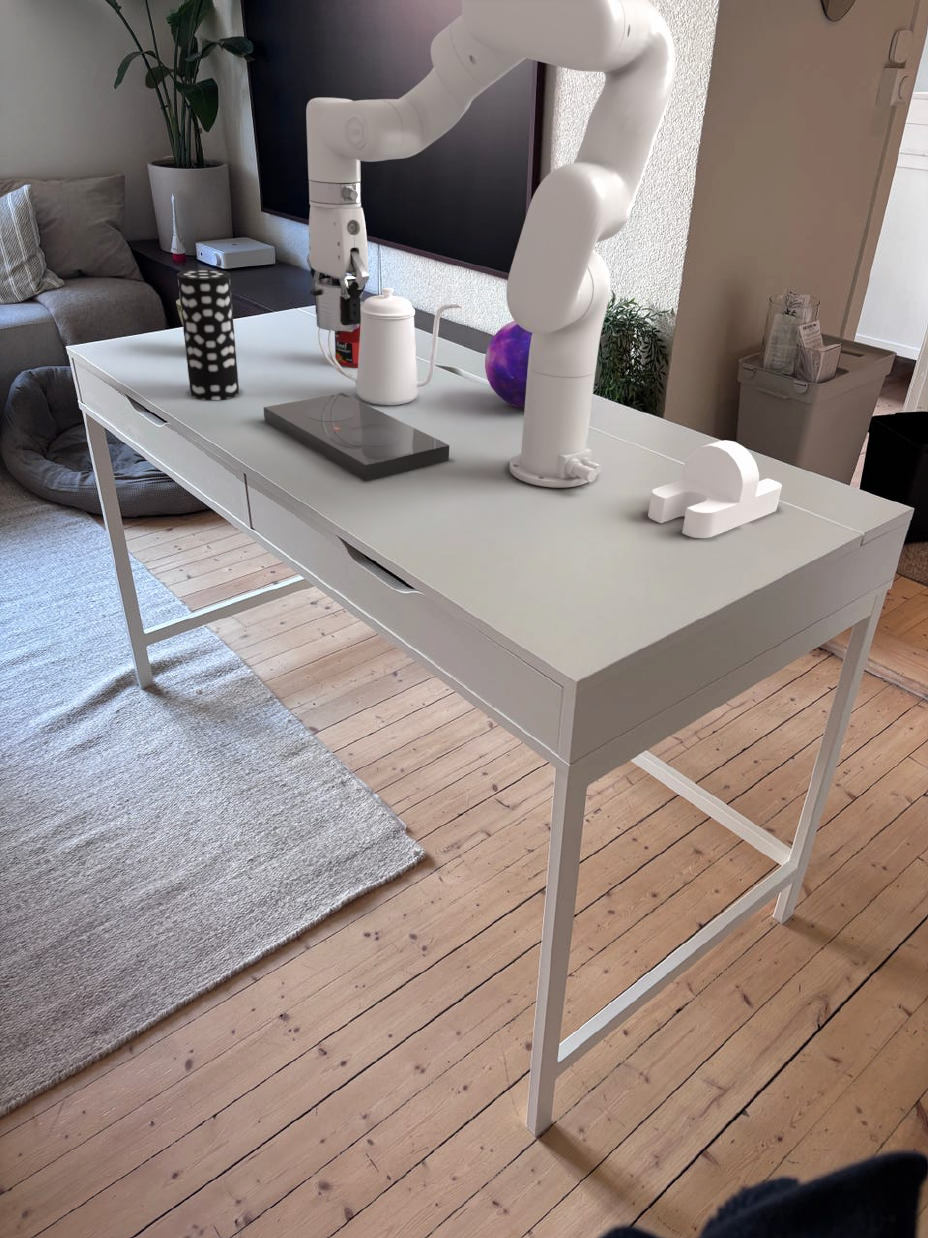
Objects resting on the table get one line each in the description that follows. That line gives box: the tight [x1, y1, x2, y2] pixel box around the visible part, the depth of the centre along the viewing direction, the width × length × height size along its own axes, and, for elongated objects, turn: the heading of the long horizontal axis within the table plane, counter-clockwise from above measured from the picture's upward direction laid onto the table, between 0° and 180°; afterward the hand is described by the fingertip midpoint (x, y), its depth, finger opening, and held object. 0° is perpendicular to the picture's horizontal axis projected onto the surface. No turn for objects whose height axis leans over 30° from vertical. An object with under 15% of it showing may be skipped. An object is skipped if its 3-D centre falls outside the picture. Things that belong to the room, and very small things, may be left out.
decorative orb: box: [484, 320, 532, 408], centre depth 162 cm, size 15×15×15 cm
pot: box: [309, 277, 359, 332], centre depth 144 cm, size 7×9×7 cm
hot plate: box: [263, 392, 450, 482], centre depth 146 cm, size 30×15×2 cm, turn 39°
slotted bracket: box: [647, 439, 783, 539], centre depth 126 cm, size 18×10×10 cm, turn 130°
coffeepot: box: [317, 286, 465, 406], centre depth 162 cm, size 11×25×19 cm, turn 84°
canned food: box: [334, 300, 364, 368], centre depth 182 cm, size 8×8×11 cm
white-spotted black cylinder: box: [177, 268, 240, 401], centre depth 159 cm, size 8×8×20 cm
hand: (337, 317), depth 146 cm, fingers closed on pot, 6 cm apart
